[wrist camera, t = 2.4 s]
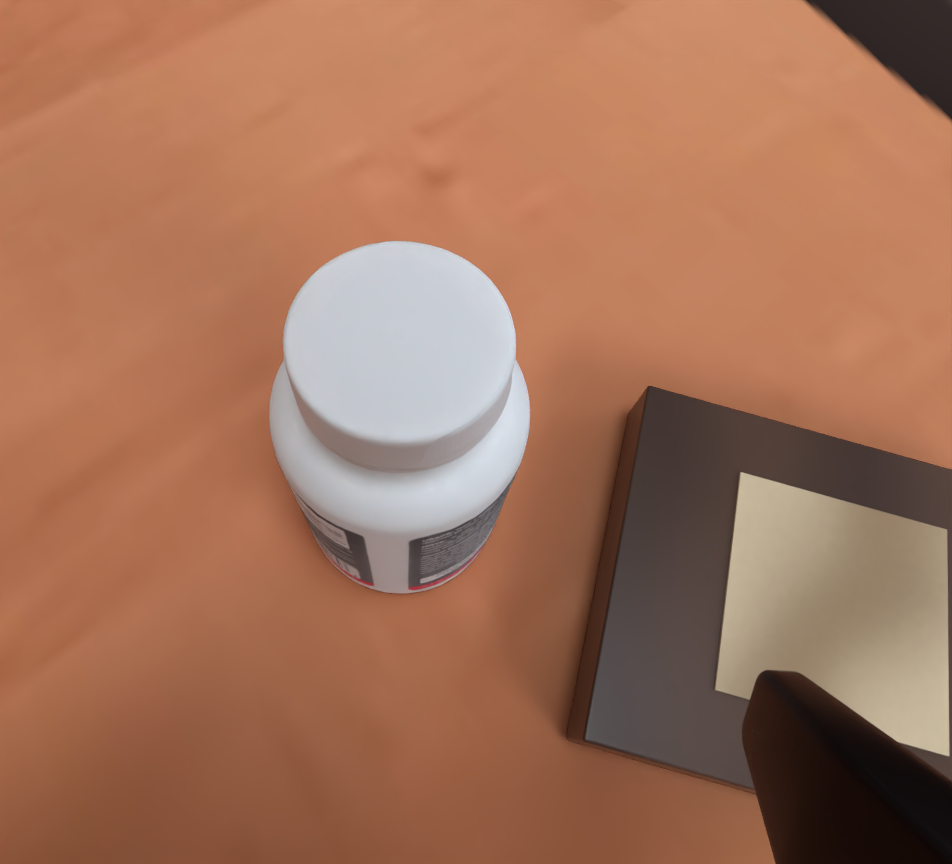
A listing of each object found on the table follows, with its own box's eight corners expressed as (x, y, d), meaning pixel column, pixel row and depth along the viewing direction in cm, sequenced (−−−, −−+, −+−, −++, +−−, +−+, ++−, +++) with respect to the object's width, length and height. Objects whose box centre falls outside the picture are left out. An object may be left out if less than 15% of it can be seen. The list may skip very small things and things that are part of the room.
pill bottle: (491, 422, 22) (550, 214, 13) (496, 596, 20) (571, 490, 11) (316, 419, 22) (253, 200, 13) (302, 597, 20) (216, 486, 11)
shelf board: (565, 739, 19) (583, 741, 17) (628, 411, 23) (649, 382, 21) (1004, 865, 19) (1074, 881, 17) (991, 513, 23) (1046, 493, 21)
